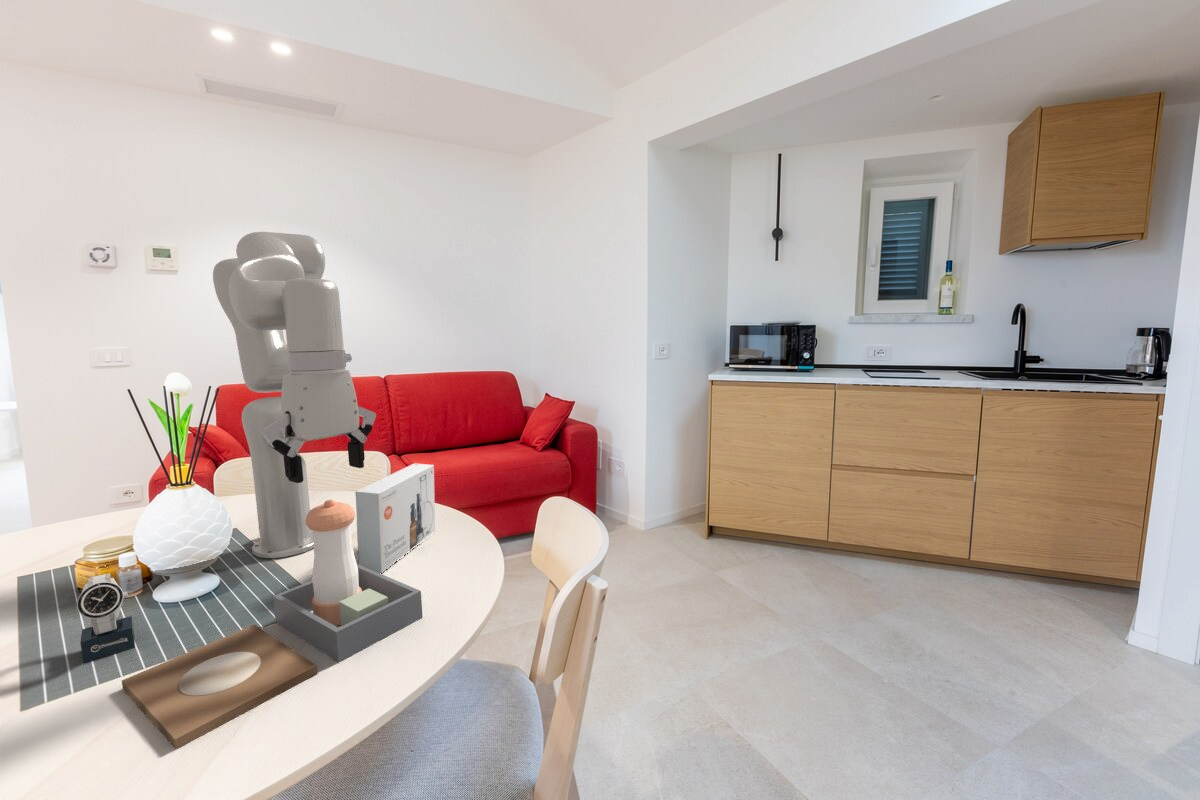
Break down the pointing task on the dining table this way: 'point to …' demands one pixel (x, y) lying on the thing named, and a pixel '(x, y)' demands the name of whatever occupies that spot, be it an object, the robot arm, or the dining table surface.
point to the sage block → (360, 605)
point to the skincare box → (394, 515)
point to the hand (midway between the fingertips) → (327, 473)
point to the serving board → (216, 683)
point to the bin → (357, 633)
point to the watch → (104, 619)
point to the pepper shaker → (332, 558)
